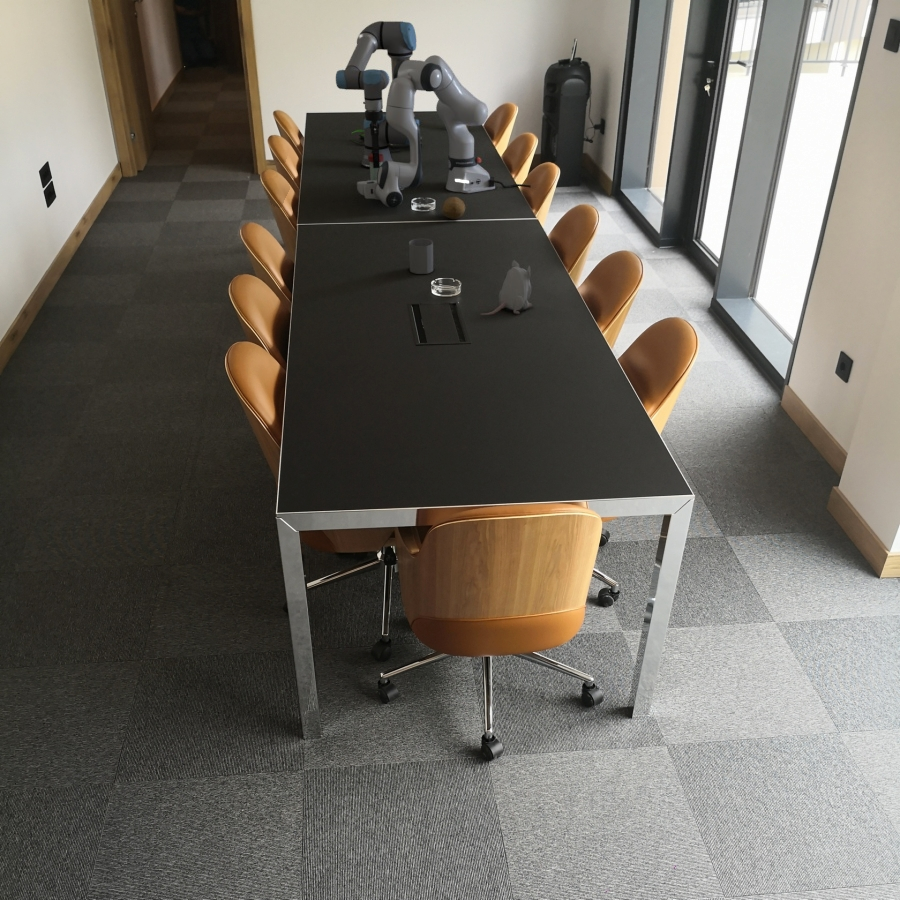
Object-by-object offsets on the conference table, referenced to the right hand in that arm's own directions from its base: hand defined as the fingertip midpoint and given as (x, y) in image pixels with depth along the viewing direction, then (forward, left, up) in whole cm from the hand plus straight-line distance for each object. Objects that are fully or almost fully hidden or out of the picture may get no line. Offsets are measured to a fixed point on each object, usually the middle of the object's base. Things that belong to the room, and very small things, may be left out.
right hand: (376, 180), depth 381 cm
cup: (+8, +93, -6) cm, 94 cm away
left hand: (0, +1, +7) cm, 7 cm away
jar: (0, +1, -6) cm, 6 cm away
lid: (0, +1, +11) cm, 11 cm away
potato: (-22, +41, -6) cm, 47 cm away
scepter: (-25, -94, -6) cm, 97 cm away
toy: (-6, +138, -6) cm, 139 cm away
